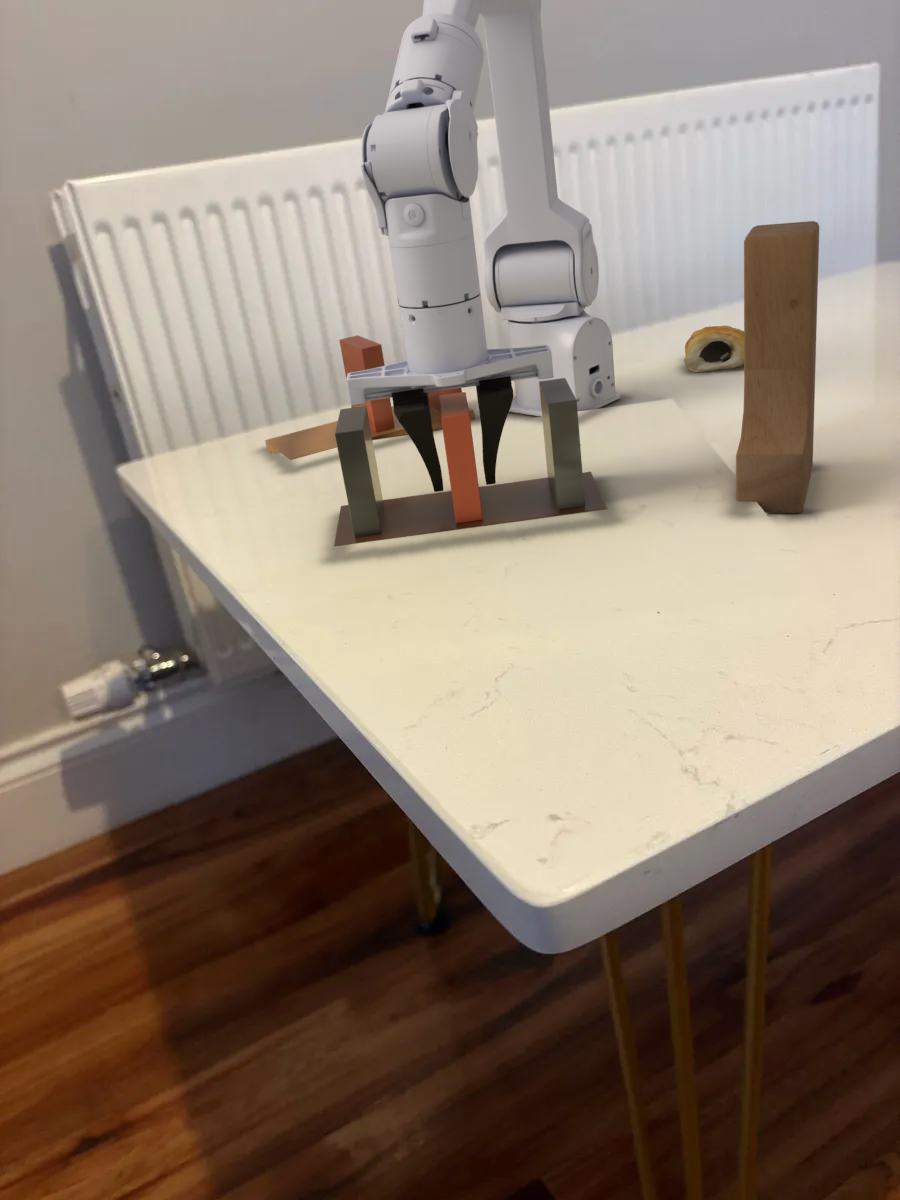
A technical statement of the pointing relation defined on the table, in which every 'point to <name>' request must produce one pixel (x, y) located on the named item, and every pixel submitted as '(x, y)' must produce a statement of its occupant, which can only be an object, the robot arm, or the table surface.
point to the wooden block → (778, 365)
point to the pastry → (715, 349)
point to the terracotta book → (460, 457)
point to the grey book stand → (498, 502)
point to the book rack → (380, 413)
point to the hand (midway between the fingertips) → (464, 483)
